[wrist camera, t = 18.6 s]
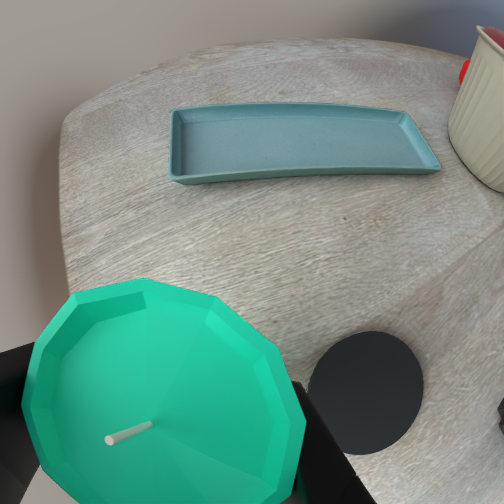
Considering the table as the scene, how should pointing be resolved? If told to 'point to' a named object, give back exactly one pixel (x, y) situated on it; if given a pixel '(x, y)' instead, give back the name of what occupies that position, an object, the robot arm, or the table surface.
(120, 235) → the table surface
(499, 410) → the cabinet
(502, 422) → the drawer
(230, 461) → the candle
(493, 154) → the canister
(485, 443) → the table surface
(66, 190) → the table surface
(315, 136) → the rectangular tray
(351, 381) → the coaster
